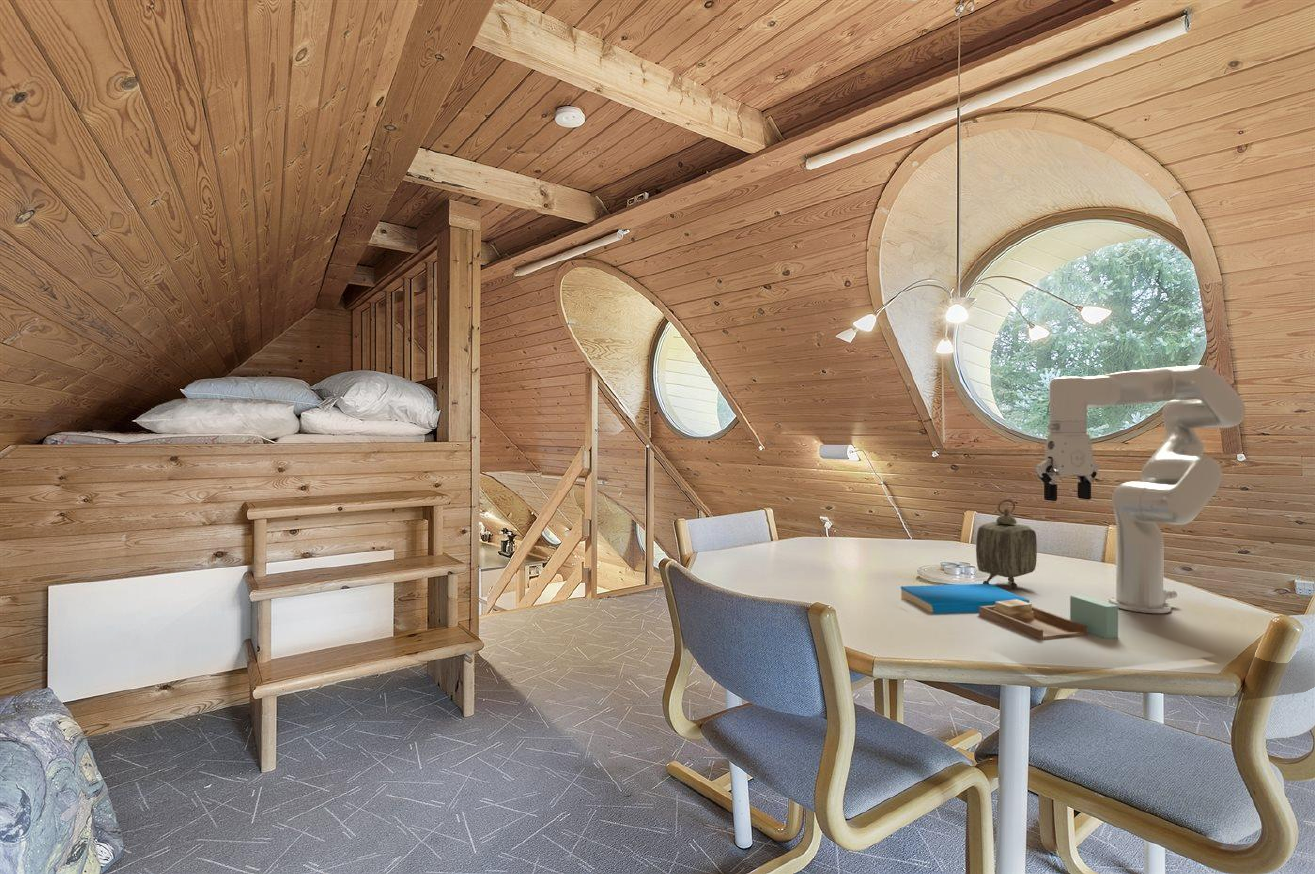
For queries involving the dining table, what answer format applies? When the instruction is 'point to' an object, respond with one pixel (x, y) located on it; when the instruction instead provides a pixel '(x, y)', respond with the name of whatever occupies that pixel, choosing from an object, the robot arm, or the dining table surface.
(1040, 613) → the tray
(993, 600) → the book
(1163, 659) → the dining table surface
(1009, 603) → the offcut top
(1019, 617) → the offcut low
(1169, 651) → the dining table surface
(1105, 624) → the block
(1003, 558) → the tabletop clock
